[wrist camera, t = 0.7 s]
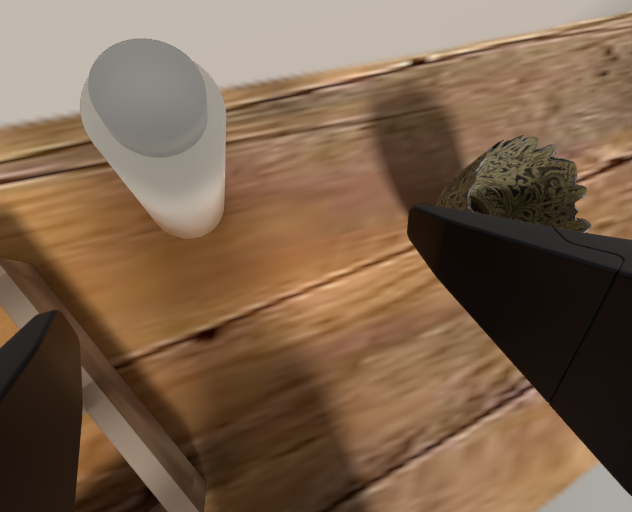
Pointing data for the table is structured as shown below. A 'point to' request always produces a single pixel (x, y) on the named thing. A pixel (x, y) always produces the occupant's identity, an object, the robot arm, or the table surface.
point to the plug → (160, 132)
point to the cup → (519, 186)
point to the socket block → (110, 399)
